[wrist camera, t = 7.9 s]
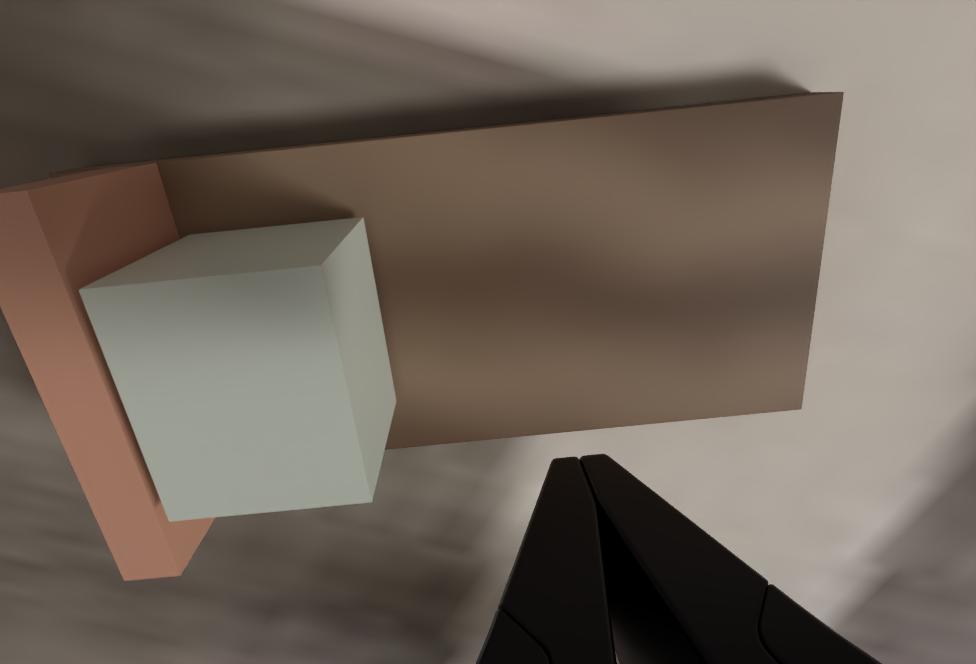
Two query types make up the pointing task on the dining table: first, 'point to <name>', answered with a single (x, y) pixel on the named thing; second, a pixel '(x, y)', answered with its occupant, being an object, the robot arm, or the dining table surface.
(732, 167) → the brown boxy piece
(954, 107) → the dining table surface
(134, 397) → the pale sage green cube
